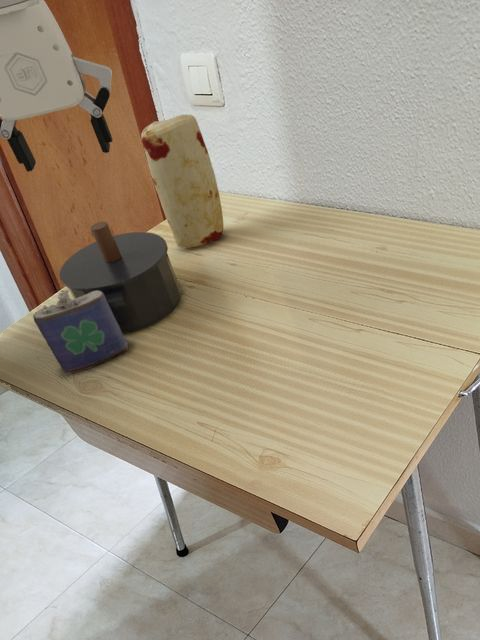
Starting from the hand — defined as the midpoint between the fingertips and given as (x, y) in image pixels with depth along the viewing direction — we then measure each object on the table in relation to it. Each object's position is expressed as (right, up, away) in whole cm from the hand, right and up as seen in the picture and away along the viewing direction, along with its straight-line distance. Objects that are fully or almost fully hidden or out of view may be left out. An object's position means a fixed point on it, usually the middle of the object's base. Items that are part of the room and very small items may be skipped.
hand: (69, 158), depth 74 cm
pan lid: (+2, -10, +10) cm, 15 cm away
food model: (+12, -2, +27) cm, 30 cm away
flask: (+1, -25, +7) cm, 26 cm away
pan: (+3, -16, +15) cm, 22 cm away
